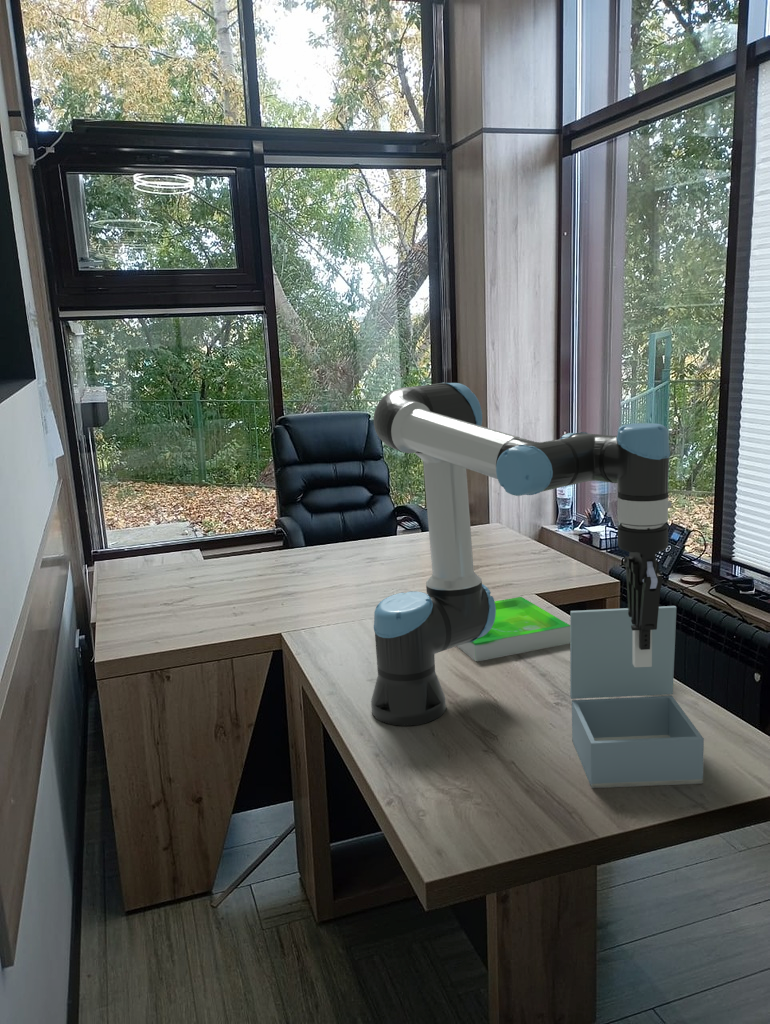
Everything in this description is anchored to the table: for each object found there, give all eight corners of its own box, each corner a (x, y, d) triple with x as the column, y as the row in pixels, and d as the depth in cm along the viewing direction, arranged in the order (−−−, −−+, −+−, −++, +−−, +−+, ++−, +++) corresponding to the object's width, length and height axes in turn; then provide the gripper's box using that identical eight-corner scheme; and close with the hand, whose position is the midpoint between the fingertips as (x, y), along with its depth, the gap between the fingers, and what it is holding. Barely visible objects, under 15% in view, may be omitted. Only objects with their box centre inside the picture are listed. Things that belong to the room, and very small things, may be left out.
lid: (571, 612, 142) (570, 611, 142) (571, 698, 147) (570, 696, 147) (676, 607, 141) (675, 605, 142) (672, 694, 146) (671, 692, 147)
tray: (521, 614, 218) (521, 596, 217) (570, 645, 194) (570, 625, 193) (435, 629, 210) (434, 611, 209) (475, 663, 187) (474, 643, 186)
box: (591, 788, 133) (591, 743, 131) (572, 740, 148) (571, 700, 147) (702, 783, 132) (703, 738, 130) (671, 736, 148) (672, 695, 146)
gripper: (680, 532, 120) (678, 680, 125) (654, 513, 132) (653, 649, 137) (629, 534, 120) (629, 683, 125) (608, 515, 133) (609, 651, 138)
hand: (642, 665), depth 131 cm, fingers closed
